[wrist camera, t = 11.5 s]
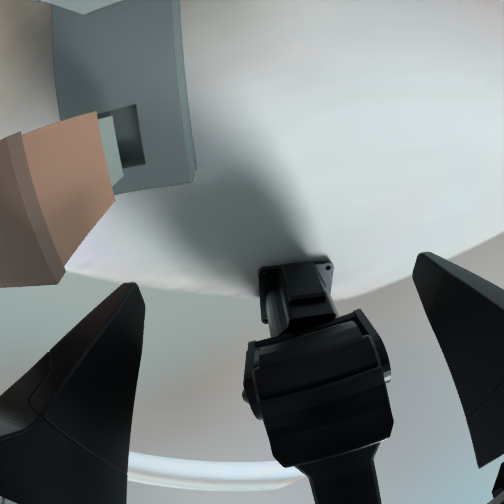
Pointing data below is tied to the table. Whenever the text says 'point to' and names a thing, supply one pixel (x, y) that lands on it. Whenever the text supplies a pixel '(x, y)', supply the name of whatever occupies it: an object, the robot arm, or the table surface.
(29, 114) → the table surface
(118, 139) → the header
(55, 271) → the brown rectangular block
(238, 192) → the table surface
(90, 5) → the grey plug
